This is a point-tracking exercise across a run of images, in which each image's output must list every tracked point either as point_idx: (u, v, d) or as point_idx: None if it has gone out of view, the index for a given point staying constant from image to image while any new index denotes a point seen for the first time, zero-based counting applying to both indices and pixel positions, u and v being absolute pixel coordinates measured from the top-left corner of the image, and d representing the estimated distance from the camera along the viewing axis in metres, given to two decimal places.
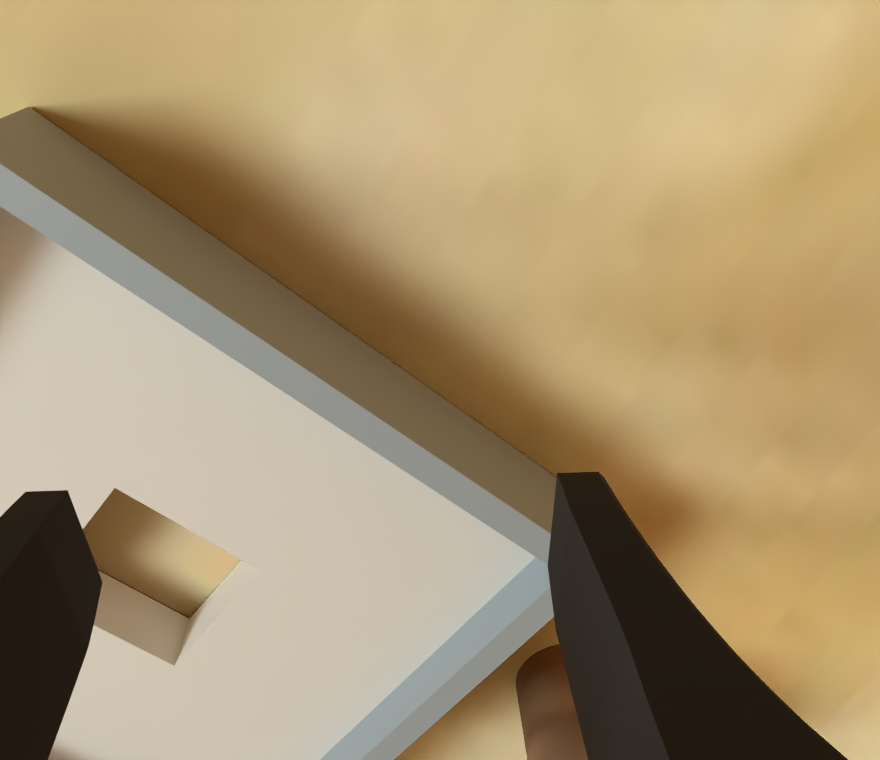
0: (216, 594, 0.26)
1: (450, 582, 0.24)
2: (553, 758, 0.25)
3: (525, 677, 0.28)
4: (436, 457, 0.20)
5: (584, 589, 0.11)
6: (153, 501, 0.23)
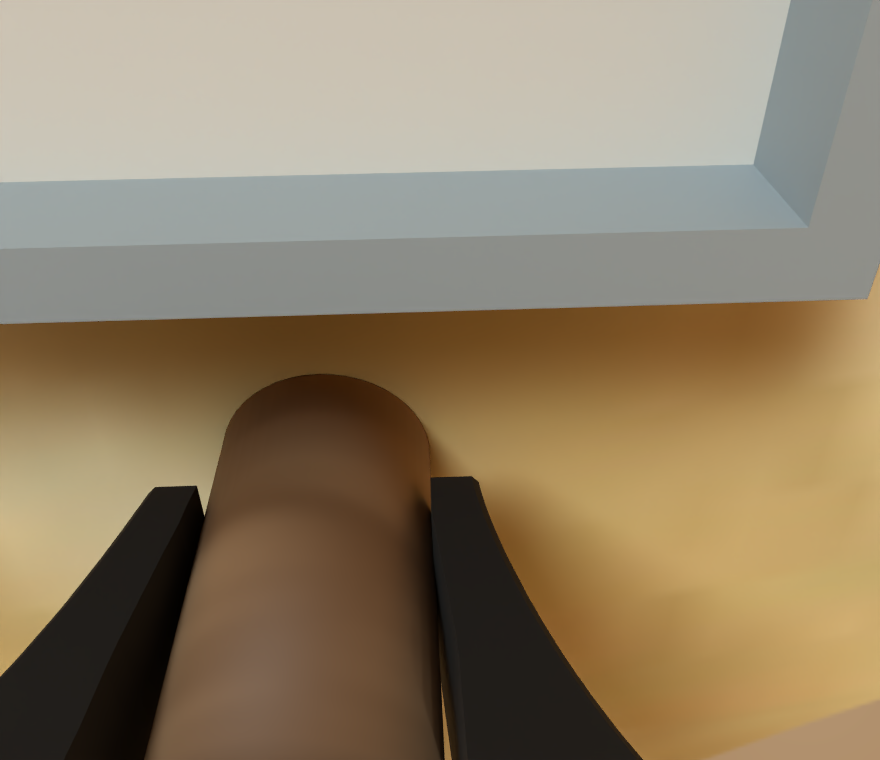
0: None
1: (482, 37, 0.08)
2: (312, 586, 0.10)
3: (294, 400, 0.12)
4: None
5: (442, 594, 0.11)
6: None
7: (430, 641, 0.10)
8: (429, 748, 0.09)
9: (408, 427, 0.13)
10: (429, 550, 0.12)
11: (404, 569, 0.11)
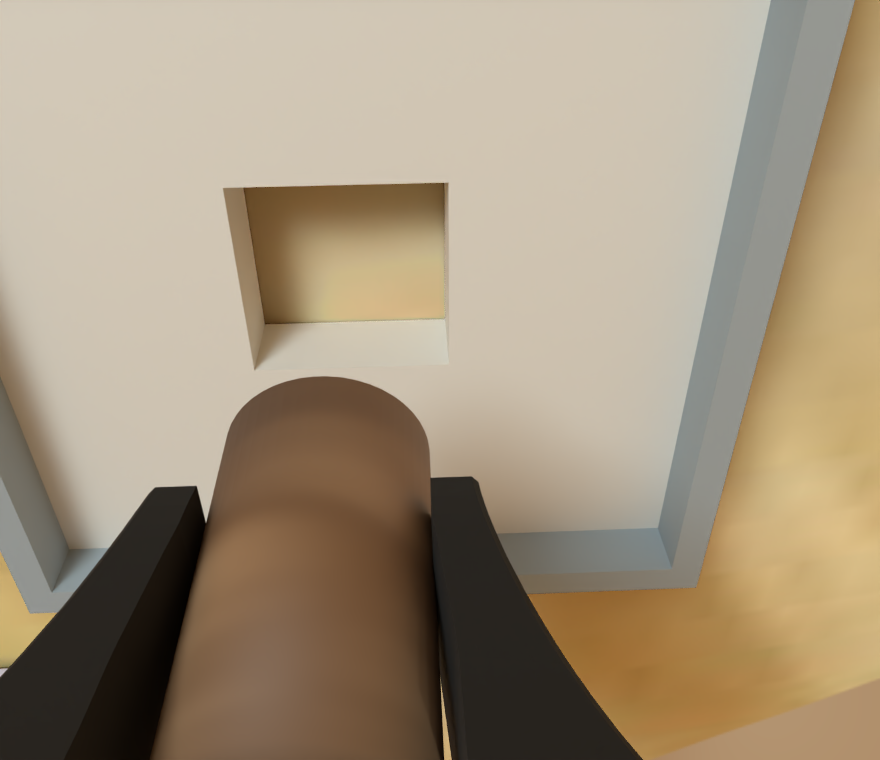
0: (333, 331, 0.21)
1: (557, 497, 0.23)
2: (307, 589, 0.10)
3: (290, 403, 0.13)
4: (738, 424, 0.20)
5: (442, 594, 0.11)
6: (460, 227, 0.18)
7: (427, 638, 0.10)
8: (425, 744, 0.09)
9: (404, 425, 0.13)
10: (427, 547, 0.12)
11: (400, 568, 0.11)
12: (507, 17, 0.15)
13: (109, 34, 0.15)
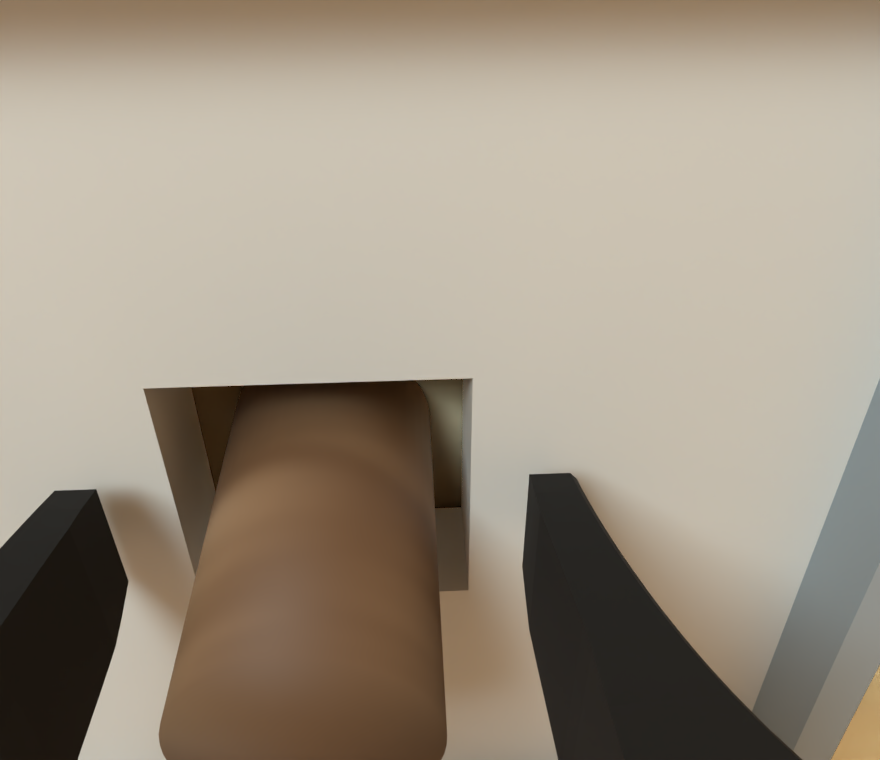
0: None
1: None
2: (317, 528, 0.11)
3: None
4: (869, 680, 0.14)
5: (553, 590, 0.11)
6: (488, 433, 0.12)
7: (429, 578, 0.11)
8: (427, 668, 0.10)
9: (406, 389, 0.14)
10: (428, 500, 0.12)
11: (403, 514, 0.11)
12: (568, 161, 0.10)
13: None
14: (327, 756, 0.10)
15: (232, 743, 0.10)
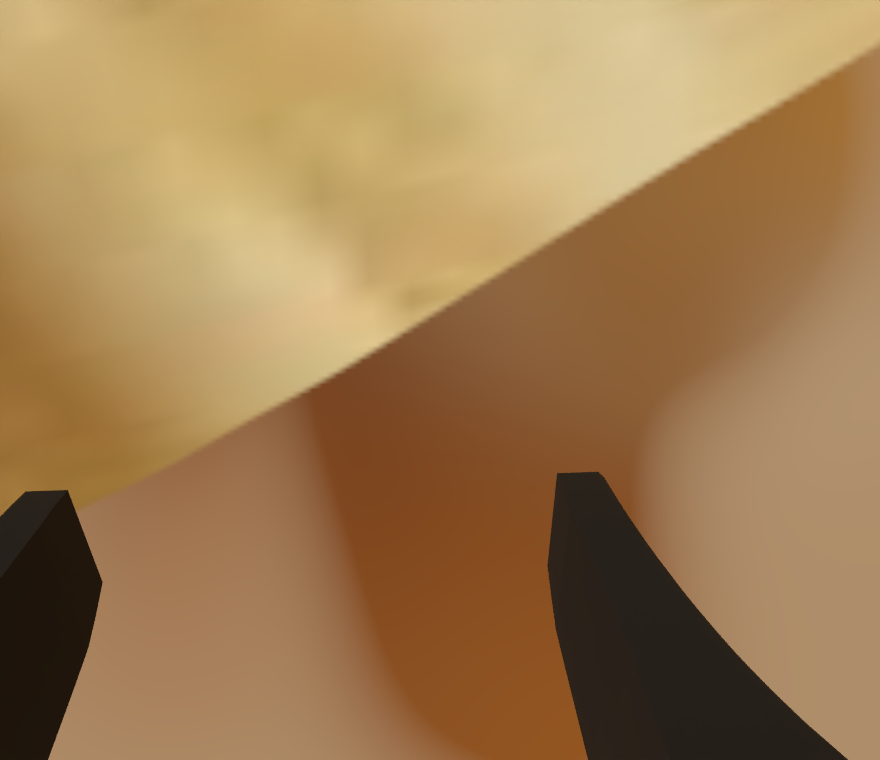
0: None
1: None
2: None
3: None
4: None
5: (584, 589, 0.11)
6: None
7: None
8: None
9: None
10: None
11: None
12: None
13: None
14: None
15: None
